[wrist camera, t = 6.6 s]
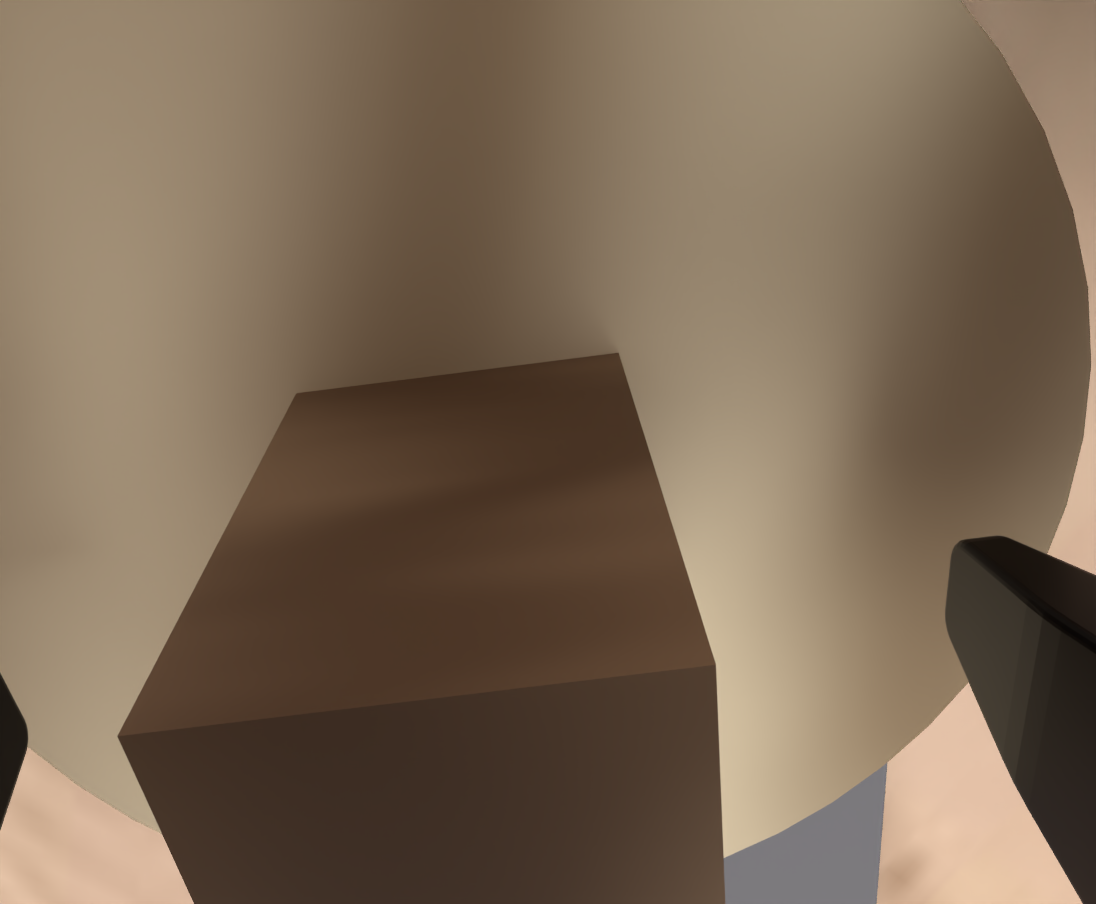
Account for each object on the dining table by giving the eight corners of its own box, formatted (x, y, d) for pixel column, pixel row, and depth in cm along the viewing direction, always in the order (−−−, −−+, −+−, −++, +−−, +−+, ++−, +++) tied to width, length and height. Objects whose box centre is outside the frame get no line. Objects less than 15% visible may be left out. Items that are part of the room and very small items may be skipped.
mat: (892, 567, 20) (901, 580, 19) (862, 998, 27) (867, 1015, 27) (184, 654, 20) (177, 669, 20) (343, 1057, 28) (340, 1075, 27)
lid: (1129, -303, 8) (2433, -916, 3) (973, 786, 15) (1257, 1267, 9) (-369, -99, 8) (-2037, -268, 3) (128, 884, 15) (-95, 1412, 9)
